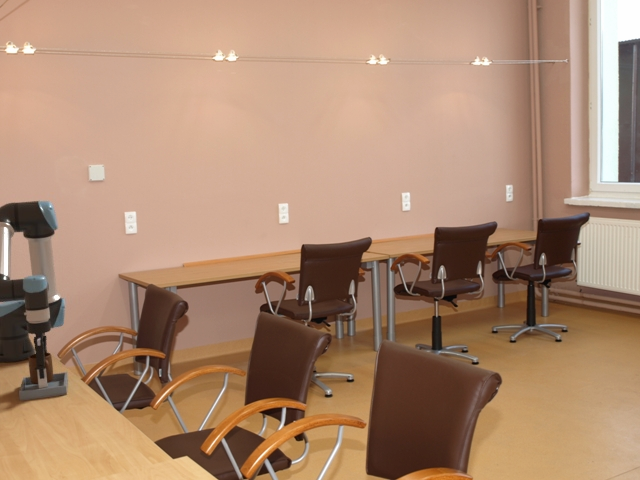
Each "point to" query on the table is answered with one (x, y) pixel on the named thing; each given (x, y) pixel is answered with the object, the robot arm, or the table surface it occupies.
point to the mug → (34, 372)
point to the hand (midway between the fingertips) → (44, 382)
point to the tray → (44, 388)
